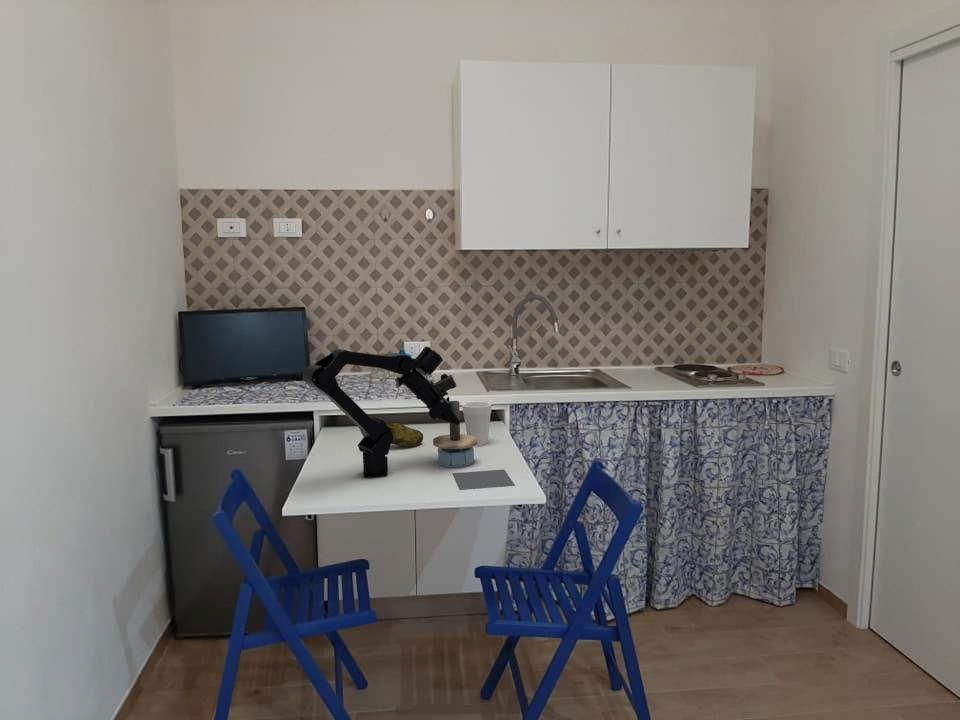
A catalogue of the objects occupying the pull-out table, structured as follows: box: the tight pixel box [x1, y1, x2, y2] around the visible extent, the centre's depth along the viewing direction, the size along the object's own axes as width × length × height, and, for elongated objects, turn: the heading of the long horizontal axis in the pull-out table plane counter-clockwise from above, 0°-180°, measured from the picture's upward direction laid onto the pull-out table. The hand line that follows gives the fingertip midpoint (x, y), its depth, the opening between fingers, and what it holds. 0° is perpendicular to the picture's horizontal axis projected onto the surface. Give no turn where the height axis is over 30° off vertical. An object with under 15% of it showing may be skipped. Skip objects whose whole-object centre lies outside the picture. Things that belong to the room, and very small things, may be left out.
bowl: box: [437, 446, 475, 468], centre depth 218 cm, size 10×10×4 cm
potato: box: [386, 422, 424, 448], centre depth 238 cm, size 8×13×8 cm, turn 98°
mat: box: [451, 469, 516, 491], centre depth 201 cm, size 15×15×1 cm
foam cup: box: [462, 400, 492, 447], centre depth 239 cm, size 10×9×13 cm
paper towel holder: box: [432, 400, 477, 449], centre depth 216 cm, size 13×13×12 cm
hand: (459, 422), depth 216 cm, fingers closed on paper towel holder, 3 cm apart
